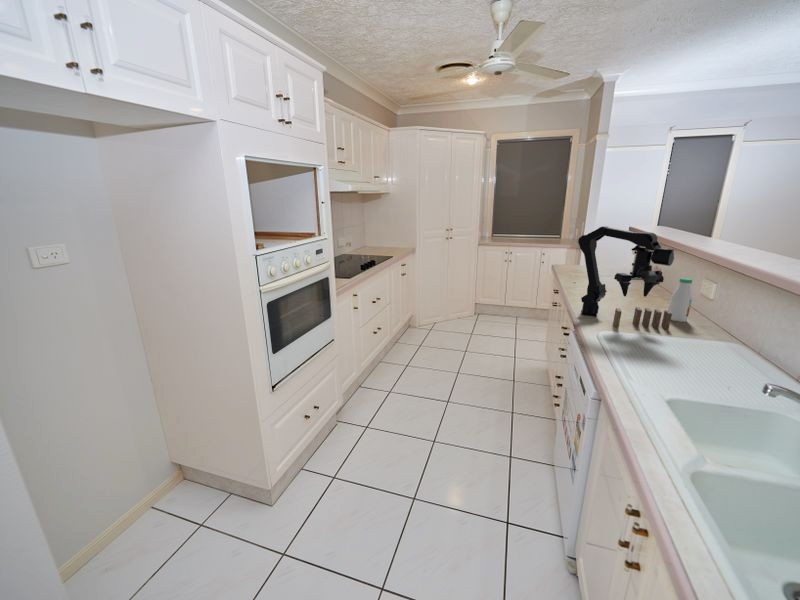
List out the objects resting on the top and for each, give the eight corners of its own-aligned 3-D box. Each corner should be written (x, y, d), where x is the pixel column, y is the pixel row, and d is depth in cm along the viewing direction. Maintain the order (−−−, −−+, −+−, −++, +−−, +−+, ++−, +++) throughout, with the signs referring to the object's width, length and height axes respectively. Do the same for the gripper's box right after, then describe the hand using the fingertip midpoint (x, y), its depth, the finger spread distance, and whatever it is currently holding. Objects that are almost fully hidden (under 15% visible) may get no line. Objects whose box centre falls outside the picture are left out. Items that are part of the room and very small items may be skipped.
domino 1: (614, 327, 158) (617, 311, 156) (612, 323, 162) (615, 308, 160) (618, 327, 157) (621, 311, 155) (616, 324, 162) (619, 308, 159)
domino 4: (654, 328, 157) (657, 312, 155) (651, 324, 161) (654, 309, 159) (658, 328, 156) (661, 312, 154) (655, 325, 161) (659, 309, 159)
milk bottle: (681, 323, 163) (691, 281, 158) (663, 318, 170) (672, 277, 164) (690, 320, 167) (700, 279, 161) (671, 316, 173) (681, 276, 168)
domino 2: (634, 325, 160) (637, 309, 158) (632, 322, 164) (635, 306, 162) (638, 326, 159) (642, 310, 157) (636, 322, 164) (639, 307, 161)
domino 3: (644, 326, 158) (647, 311, 156) (641, 323, 163) (645, 307, 161) (648, 327, 158) (651, 311, 156) (646, 323, 162) (649, 308, 160)
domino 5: (664, 329, 156) (667, 313, 153) (661, 325, 160) (664, 310, 158) (668, 329, 155) (672, 313, 153) (665, 326, 159) (669, 310, 157)
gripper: (633, 265, 145) (626, 301, 150) (677, 265, 146) (668, 301, 151) (617, 260, 156) (610, 294, 160) (657, 261, 157) (650, 294, 161)
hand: (634, 296), depth 158 cm, fingers open, 9 cm apart
